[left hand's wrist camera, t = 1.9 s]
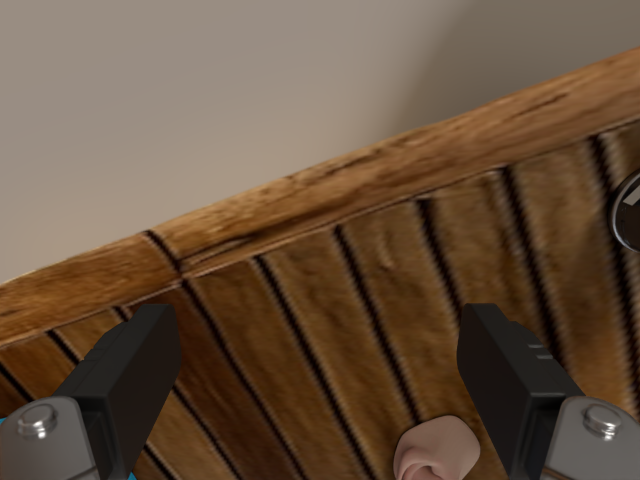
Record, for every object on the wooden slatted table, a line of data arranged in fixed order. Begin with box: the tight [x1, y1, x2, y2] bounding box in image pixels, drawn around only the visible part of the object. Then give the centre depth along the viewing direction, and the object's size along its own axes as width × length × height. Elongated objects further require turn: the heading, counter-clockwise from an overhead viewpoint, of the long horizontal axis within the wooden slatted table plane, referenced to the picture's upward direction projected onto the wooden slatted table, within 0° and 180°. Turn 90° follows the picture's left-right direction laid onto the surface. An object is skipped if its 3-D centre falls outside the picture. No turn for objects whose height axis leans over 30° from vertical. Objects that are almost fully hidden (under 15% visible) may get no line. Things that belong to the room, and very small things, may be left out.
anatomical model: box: [394, 416, 480, 480], centre depth 51 cm, size 13×4×12 cm
